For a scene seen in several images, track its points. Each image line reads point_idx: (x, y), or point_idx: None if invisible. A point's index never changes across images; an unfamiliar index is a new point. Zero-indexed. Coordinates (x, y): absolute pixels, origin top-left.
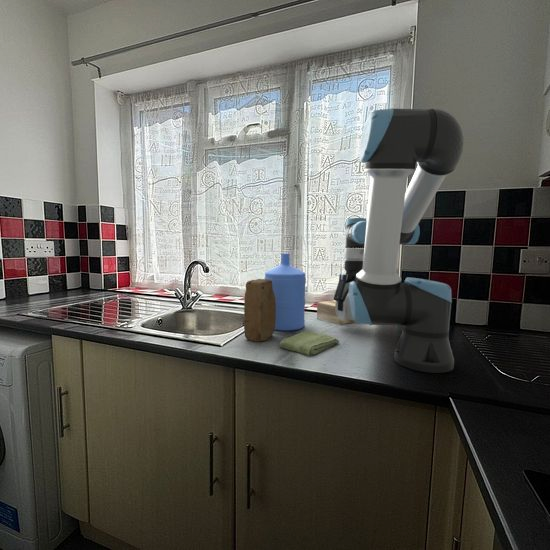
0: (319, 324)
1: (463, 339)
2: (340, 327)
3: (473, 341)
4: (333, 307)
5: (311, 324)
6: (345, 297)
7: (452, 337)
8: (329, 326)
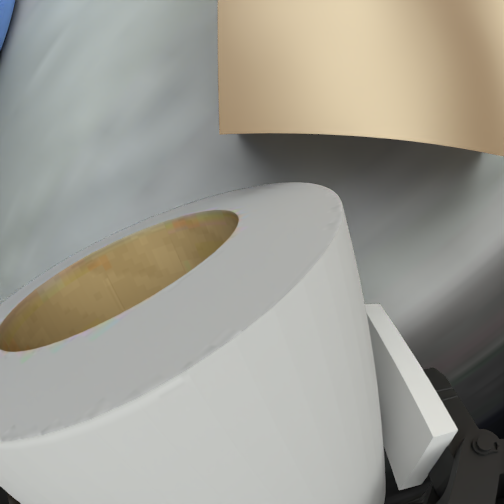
0: (95, 59)
1: (423, 492)
2: (172, 207)
3: (418, 500)
4: (220, 6)
5: (53, 41)
6: (3, 501)
7: (427, 482)
8: (117, 140)
